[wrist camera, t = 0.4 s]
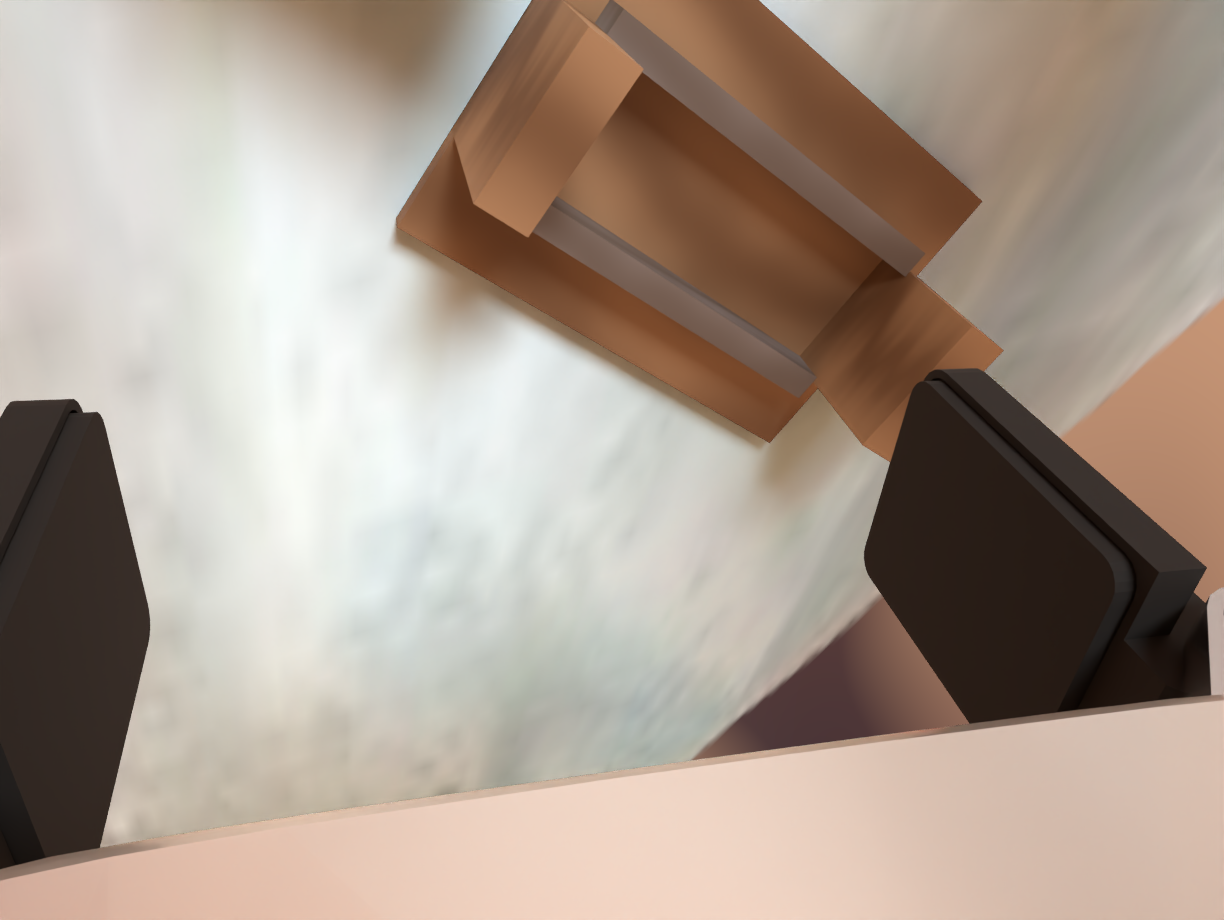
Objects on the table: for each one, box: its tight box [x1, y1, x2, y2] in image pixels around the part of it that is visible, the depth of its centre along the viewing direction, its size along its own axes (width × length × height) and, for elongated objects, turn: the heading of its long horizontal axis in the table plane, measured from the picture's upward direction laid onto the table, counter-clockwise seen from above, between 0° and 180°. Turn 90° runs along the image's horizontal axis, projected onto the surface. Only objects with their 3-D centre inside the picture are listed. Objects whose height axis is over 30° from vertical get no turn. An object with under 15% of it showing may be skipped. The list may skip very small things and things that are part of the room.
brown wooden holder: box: [396, 0, 1004, 462], centre depth 36 cm, size 14×20×8 cm
